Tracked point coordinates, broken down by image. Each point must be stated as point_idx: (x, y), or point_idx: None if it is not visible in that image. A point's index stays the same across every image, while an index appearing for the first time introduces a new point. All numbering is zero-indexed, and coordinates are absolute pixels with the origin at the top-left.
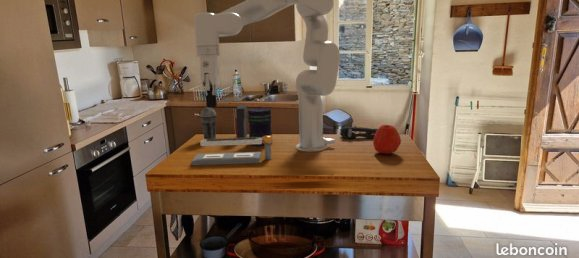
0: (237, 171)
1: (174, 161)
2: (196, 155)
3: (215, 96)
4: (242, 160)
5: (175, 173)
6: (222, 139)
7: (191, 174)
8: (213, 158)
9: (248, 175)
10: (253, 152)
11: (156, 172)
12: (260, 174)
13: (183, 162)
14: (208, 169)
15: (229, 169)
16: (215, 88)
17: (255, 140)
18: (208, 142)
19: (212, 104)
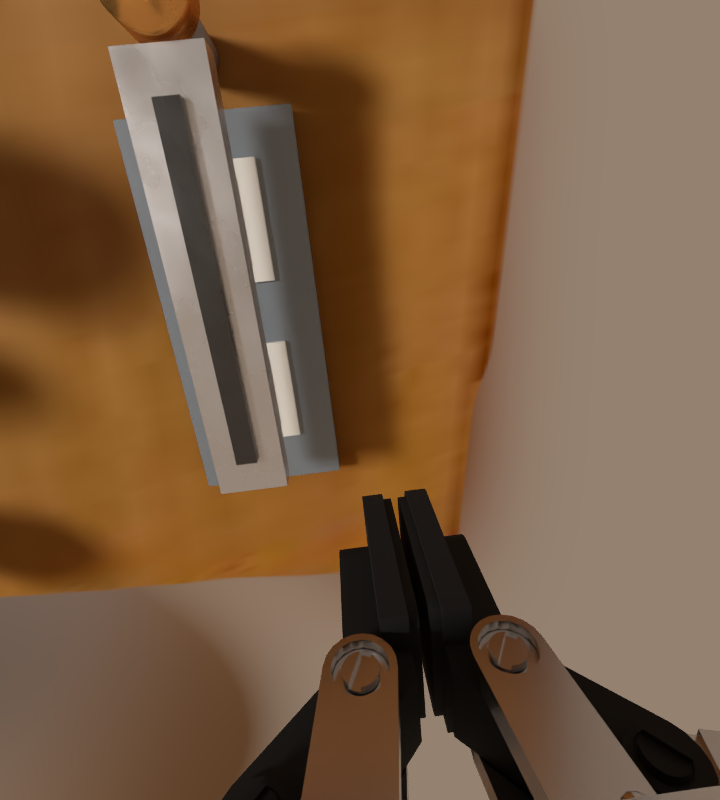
0: (442, 216)
1: (280, 547)
2: None
3: (459, 588)
4: (305, 216)
5: (447, 482)
6: (237, 367)
7: (467, 418)
8: (291, 383)
9: (512, 139)
10: (138, 172)
11: None
12: (504, 67)
13: (293, 508)
14: (401, 369)
15: (406, 267)
16: (326, 778)
17: (216, 101)
18: (279, 440)
19: (462, 537)
